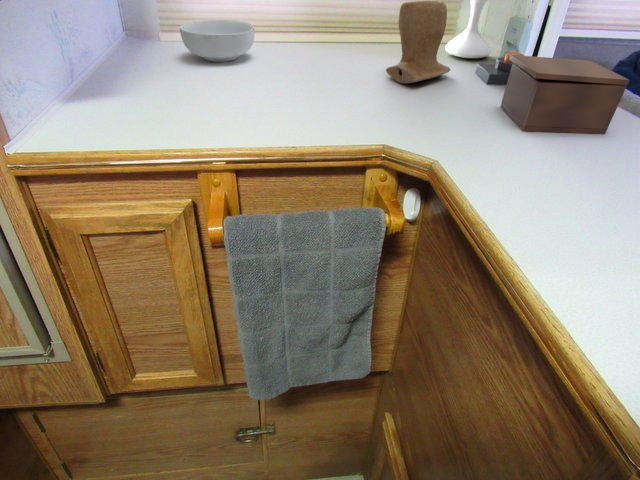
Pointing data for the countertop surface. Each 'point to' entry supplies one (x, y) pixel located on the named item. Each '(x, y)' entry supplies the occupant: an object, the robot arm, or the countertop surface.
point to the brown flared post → (420, 41)
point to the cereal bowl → (217, 39)
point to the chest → (559, 103)
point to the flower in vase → (470, 37)
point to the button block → (494, 72)
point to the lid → (567, 70)
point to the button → (509, 56)
